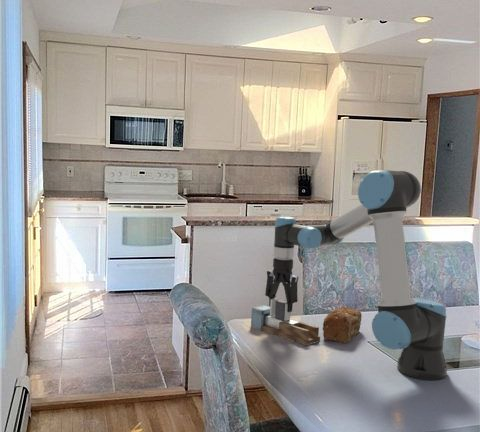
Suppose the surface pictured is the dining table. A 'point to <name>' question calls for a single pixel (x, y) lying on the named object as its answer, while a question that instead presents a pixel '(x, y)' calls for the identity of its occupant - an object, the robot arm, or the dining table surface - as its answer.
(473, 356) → the dining table surface
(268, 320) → the grey and white block
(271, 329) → the rail
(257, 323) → the socket
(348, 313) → the bread
